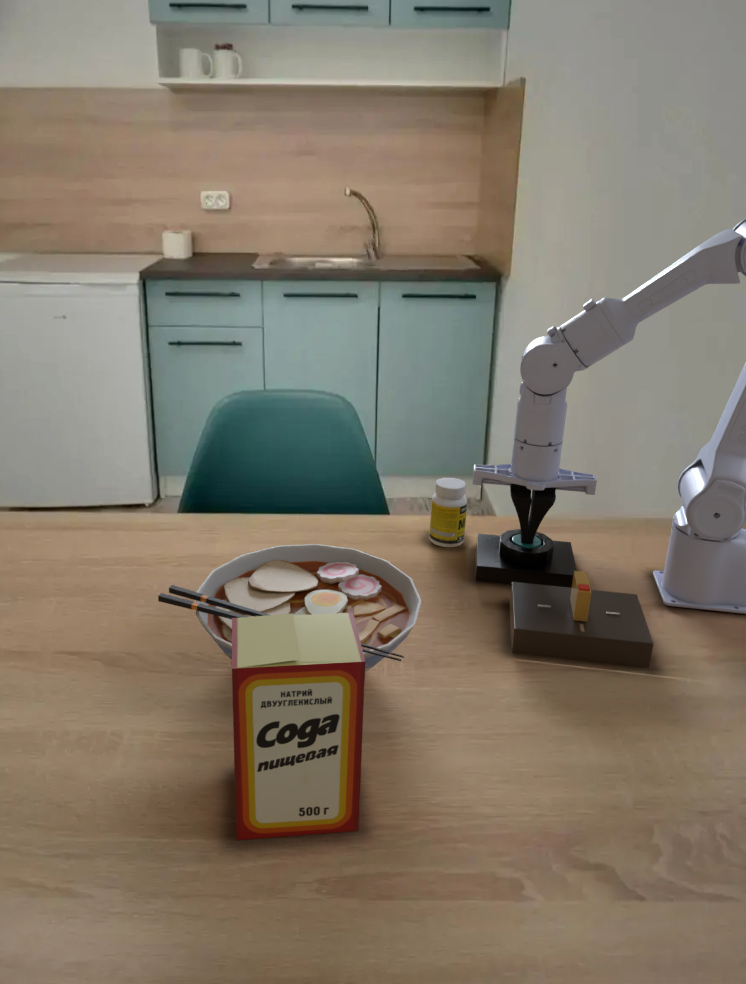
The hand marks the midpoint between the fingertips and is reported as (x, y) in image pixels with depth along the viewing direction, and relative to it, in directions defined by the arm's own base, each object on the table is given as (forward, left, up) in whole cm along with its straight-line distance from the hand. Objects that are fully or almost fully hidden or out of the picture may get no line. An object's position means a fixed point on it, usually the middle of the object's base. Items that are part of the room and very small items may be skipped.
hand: (526, 540), depth 104 cm
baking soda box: (+20, +44, -4) cm, 49 cm away
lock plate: (-5, +14, -4) cm, 15 cm away
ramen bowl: (+23, +24, -4) cm, 34 cm away
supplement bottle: (+10, -6, -4) cm, 12 cm away
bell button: (0, 0, -2) cm, 2 cm away
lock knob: (-5, +14, -1) cm, 15 cm away
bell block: (0, 0, -4) cm, 4 cm away
